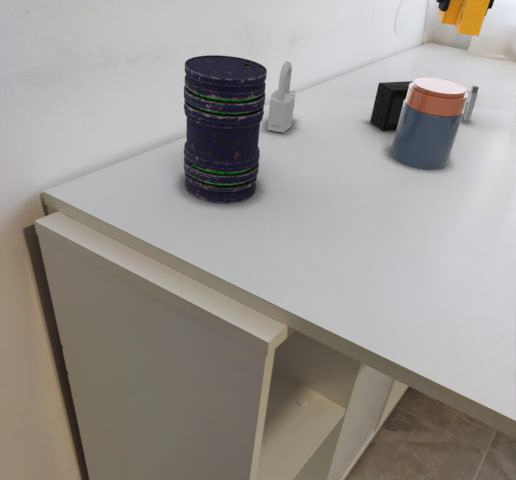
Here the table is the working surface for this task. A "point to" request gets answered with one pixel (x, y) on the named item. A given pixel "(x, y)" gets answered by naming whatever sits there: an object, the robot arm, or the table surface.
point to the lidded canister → (428, 123)
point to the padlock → (282, 102)
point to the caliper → (470, 103)
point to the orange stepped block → (465, 15)
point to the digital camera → (389, 104)
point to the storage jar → (223, 127)
